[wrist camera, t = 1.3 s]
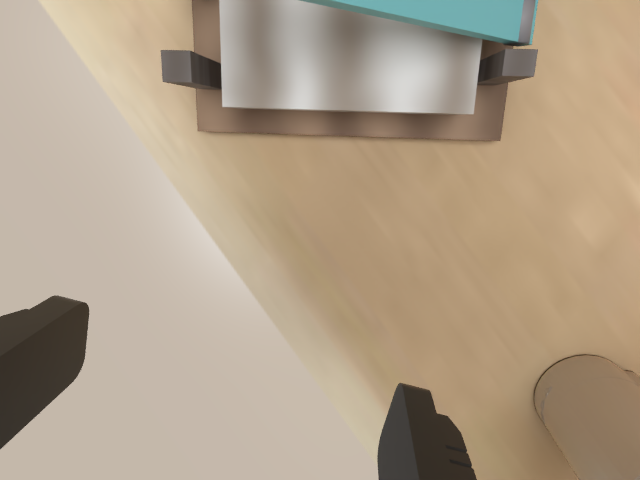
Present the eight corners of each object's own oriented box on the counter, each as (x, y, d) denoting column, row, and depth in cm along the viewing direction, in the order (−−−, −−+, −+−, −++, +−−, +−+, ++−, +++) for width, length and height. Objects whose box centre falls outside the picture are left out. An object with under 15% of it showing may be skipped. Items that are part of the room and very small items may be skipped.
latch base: (520, -69, 35) (584, -140, 25) (492, 139, 39) (538, 146, 29) (197, -70, 36) (141, -137, 27) (205, 130, 41) (159, 134, 31)
